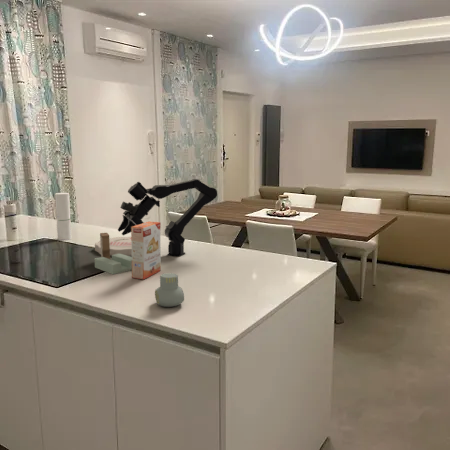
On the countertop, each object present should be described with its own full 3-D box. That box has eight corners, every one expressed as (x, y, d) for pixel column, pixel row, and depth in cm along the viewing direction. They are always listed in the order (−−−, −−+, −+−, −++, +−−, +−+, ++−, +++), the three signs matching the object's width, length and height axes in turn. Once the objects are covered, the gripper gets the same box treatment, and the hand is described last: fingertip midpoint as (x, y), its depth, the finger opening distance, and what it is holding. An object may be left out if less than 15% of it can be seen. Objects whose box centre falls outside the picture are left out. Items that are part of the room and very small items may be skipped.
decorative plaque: (85, 248, 213) (108, 235, 243) (86, 256, 214) (108, 242, 243) (148, 250, 210) (163, 237, 240) (148, 258, 211) (163, 243, 240)
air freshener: (153, 300, 154) (153, 271, 153) (177, 297, 157) (177, 269, 155) (160, 311, 144) (160, 281, 143) (185, 308, 147) (185, 278, 145)
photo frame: (110, 262, 201) (109, 235, 199) (103, 263, 200) (102, 235, 198) (108, 259, 207) (107, 232, 204) (101, 260, 206) (100, 233, 203)
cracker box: (144, 280, 176) (143, 227, 173) (131, 278, 178) (129, 226, 175) (161, 270, 189) (161, 221, 185) (149, 269, 191) (148, 220, 188)
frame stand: (94, 267, 193) (94, 258, 193) (119, 262, 202) (119, 253, 201) (113, 274, 184) (112, 264, 183) (138, 268, 193) (138, 259, 192)
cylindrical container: (66, 236, 254) (63, 192, 250) (74, 238, 250) (71, 193, 246) (55, 238, 249) (52, 193, 244) (63, 240, 245) (60, 194, 240)
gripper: (126, 193, 211) (103, 217, 209) (135, 197, 195) (110, 224, 192) (143, 209, 216) (121, 233, 214) (154, 214, 199) (129, 241, 197)
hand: (120, 232), depth 204 cm, fingers open, 9 cm apart
